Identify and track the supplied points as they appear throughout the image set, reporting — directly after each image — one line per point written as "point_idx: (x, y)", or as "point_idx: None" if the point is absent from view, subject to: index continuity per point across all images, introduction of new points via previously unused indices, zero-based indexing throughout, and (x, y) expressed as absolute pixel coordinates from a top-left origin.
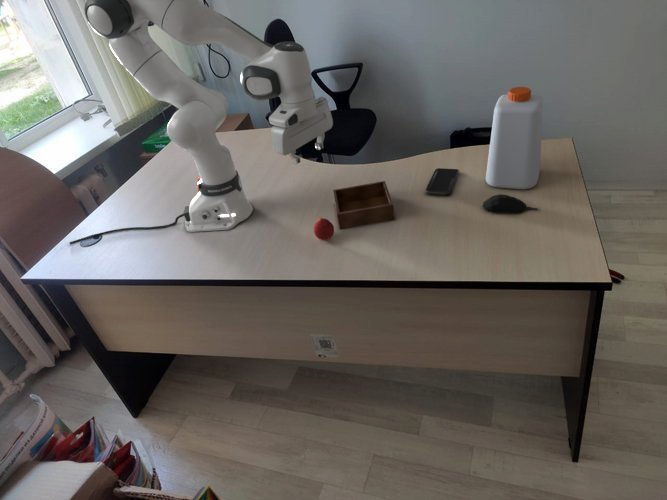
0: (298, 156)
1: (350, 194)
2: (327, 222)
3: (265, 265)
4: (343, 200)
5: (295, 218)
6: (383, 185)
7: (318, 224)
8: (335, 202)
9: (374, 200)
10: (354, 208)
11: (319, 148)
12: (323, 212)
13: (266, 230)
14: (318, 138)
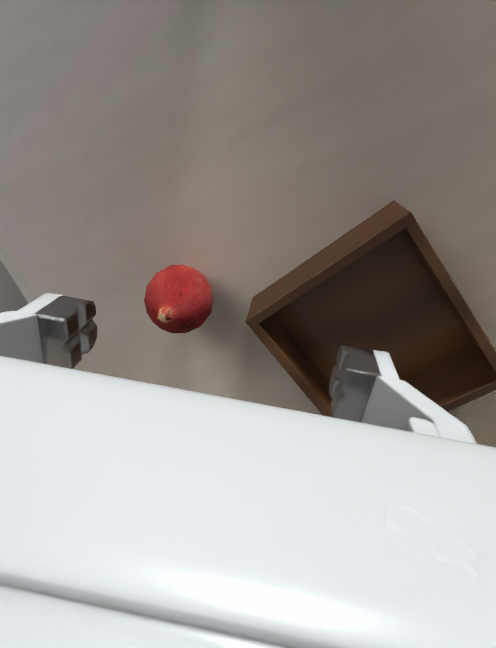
0: (67, 359)
1: (427, 267)
2: (175, 329)
3: (4, 176)
4: (405, 236)
5: (252, 90)
6: (484, 380)
7: (151, 308)
8: (315, 276)
9: (439, 330)
10: (374, 289)
11: (331, 388)
12: (326, 185)
13: (133, 15)
14: (400, 416)
